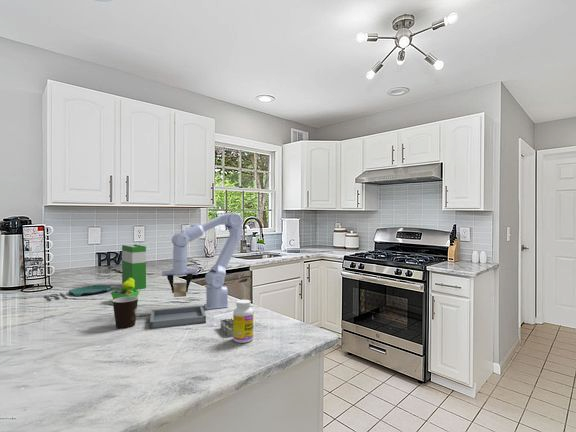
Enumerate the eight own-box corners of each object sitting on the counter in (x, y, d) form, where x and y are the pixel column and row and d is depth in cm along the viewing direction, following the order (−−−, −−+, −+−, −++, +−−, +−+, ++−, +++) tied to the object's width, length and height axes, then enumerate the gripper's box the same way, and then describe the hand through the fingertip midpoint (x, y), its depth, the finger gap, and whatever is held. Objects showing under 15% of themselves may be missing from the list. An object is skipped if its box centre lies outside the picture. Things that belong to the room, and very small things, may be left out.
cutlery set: (116, 292, 178) (116, 288, 178) (48, 303, 157) (48, 298, 157) (105, 287, 192) (105, 283, 192) (41, 296, 171) (41, 292, 171)
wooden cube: (185, 293, 145) (185, 282, 145) (186, 296, 140) (186, 284, 140) (173, 294, 143) (173, 283, 143) (173, 297, 138) (173, 285, 138)
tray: (202, 311, 141) (202, 305, 141) (205, 322, 126) (205, 316, 126) (152, 316, 135) (152, 310, 135) (149, 328, 120) (149, 322, 120)
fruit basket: (109, 303, 156) (109, 279, 156) (125, 298, 164) (125, 276, 164) (127, 305, 151) (127, 281, 151) (142, 300, 160) (142, 277, 160)
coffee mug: (127, 330, 118) (127, 302, 118) (107, 329, 120) (107, 301, 120) (147, 320, 129) (147, 295, 129) (128, 319, 131) (128, 294, 131)
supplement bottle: (244, 345, 104) (244, 305, 104) (229, 341, 108) (228, 302, 108) (257, 338, 110) (257, 300, 110) (242, 334, 114) (242, 297, 114)
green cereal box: (122, 285, 194) (122, 245, 194) (135, 283, 199) (135, 244, 199) (132, 290, 182) (132, 247, 182) (146, 288, 187) (145, 246, 187)
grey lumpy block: (248, 334, 115) (248, 322, 115) (227, 338, 111) (227, 326, 111) (238, 325, 124) (238, 314, 124) (218, 328, 121) (218, 317, 121)
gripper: (196, 258, 147) (196, 288, 147) (162, 260, 143) (162, 291, 143) (197, 260, 141) (197, 292, 141) (161, 262, 136) (161, 294, 136)
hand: (179, 292), depth 141 cm, fingers closed on wooden cube, 5 cm apart
